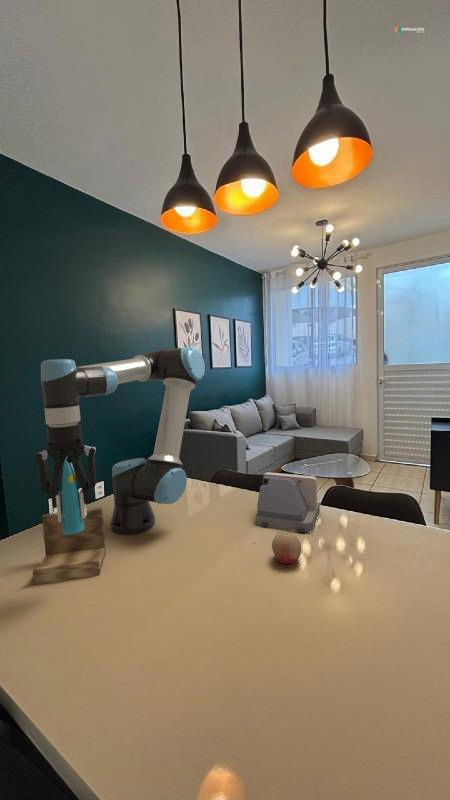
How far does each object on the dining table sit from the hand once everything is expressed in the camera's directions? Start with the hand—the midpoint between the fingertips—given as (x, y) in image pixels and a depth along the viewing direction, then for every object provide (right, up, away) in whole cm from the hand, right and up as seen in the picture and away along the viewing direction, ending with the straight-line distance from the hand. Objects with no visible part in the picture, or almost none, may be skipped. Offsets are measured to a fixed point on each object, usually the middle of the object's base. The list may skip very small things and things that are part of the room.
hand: (72, 517), depth 84 cm
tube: (0, -3, 0) cm, 4 cm away
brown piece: (-5, -18, +11) cm, 21 cm away
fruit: (+54, -15, +10) cm, 57 cm away
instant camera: (+60, -13, +36) cm, 71 cm away
